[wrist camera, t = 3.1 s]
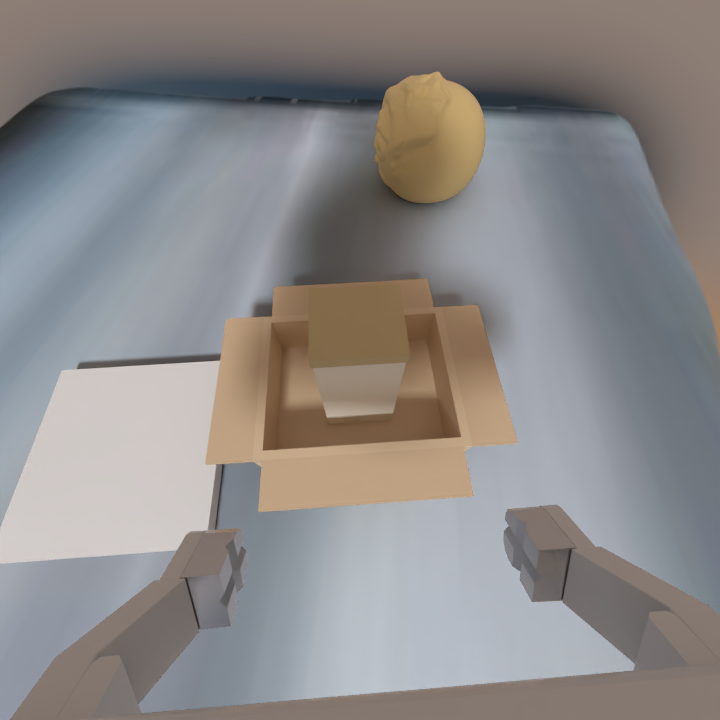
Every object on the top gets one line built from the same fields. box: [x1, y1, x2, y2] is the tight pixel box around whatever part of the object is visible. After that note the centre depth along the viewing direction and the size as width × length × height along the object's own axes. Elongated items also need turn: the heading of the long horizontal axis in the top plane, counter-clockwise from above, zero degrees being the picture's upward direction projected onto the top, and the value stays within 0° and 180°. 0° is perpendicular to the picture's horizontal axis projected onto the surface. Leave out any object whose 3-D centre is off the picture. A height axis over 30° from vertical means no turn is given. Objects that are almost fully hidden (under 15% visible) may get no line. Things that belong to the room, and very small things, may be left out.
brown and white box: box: [308, 284, 411, 424], centre depth 23 cm, size 5×5×11 cm
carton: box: [205, 279, 518, 512], centre depth 26 cm, size 17×20×4 cm
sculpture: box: [374, 72, 485, 203], centre depth 36 cm, size 11×12×11 cm
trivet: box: [0, 361, 223, 564], centre depth 25 cm, size 14×14×1 cm
